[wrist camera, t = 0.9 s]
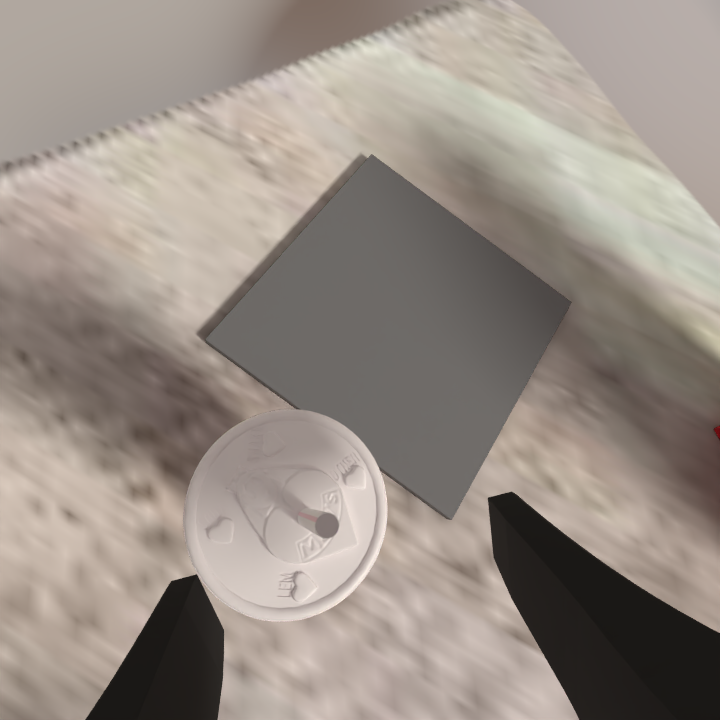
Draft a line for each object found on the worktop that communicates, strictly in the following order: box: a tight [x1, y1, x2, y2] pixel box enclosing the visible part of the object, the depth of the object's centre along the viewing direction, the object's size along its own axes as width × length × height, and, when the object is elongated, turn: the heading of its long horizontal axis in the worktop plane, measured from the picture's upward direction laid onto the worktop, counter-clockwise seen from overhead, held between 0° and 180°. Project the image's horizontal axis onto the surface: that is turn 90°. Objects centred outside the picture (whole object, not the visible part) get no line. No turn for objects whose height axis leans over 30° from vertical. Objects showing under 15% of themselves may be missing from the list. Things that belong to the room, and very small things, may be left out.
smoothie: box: [183, 409, 387, 622], centre depth 17 cm, size 6×6×14 cm
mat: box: [205, 154, 571, 520], centre depth 28 cm, size 16×16×1 cm
